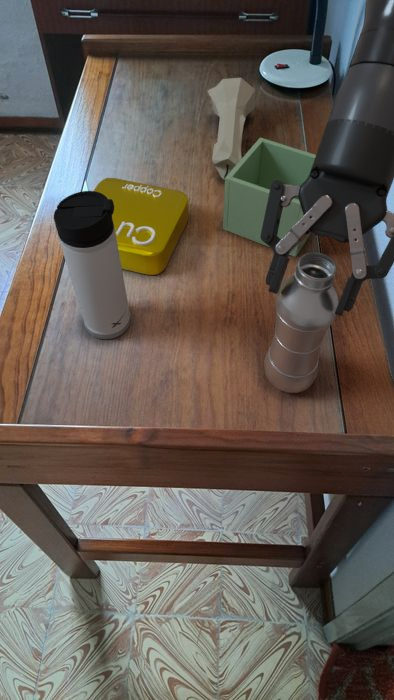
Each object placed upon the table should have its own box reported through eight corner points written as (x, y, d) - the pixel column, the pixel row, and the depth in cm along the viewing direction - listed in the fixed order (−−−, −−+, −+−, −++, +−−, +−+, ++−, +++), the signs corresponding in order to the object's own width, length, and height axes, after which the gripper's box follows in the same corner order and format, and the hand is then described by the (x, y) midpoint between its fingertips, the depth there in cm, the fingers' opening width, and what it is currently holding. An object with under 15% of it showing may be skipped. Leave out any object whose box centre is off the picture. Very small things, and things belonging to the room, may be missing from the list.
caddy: (324, 213, 83) (337, 161, 75) (295, 257, 77) (306, 206, 69) (254, 188, 86) (260, 137, 78) (222, 229, 81) (224, 177, 73)
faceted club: (260, 106, 99) (256, 192, 86) (218, 115, 102) (208, 200, 88) (251, 61, 92) (246, 148, 79) (206, 72, 95) (193, 158, 81)
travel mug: (131, 339, 68) (110, 224, 52) (82, 340, 68) (46, 225, 52) (134, 304, 72) (115, 185, 55) (87, 304, 72) (54, 186, 55)
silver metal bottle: (290, 409, 62) (322, 303, 46) (251, 374, 65) (268, 262, 49) (324, 379, 64) (367, 268, 48) (285, 347, 67) (312, 232, 51)
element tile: (192, 214, 83) (191, 189, 79) (160, 279, 74) (158, 255, 70) (107, 196, 85) (102, 171, 81) (68, 257, 77) (60, 233, 73)
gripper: (287, 99, 45) (229, 280, 49) (454, 139, 42) (378, 331, 45) (297, 125, 52) (245, 281, 56) (440, 160, 49) (375, 324, 52)
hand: (305, 302), depth 50 cm, fingers open, 6 cm apart
